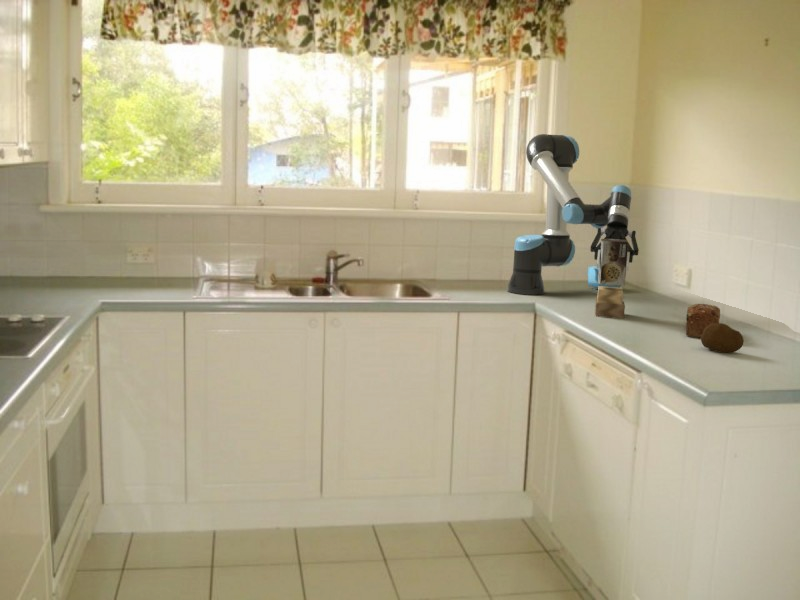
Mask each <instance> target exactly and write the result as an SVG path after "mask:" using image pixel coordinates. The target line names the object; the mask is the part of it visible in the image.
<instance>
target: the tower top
mask: <svg viewBox="0 0 800 600" xmlns="http://www.w3.org/2000/svg"><path fill="white" fill-rule="evenodd" d="M623 295H624V290H623V287H620V288H617V287H604V286H598V290H597V296H596V297H597V298H596V299H597V302H598V303H603V304H616V305H622V301H623Z"/></svg>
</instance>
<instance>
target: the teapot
mask: <svg viewBox="0 0 800 600" xmlns="http://www.w3.org/2000/svg"><path fill="white" fill-rule="evenodd" d="M598 275H599V268H596V265H593V266H588V268H587V279H588V280H587V286H589V287H593V288H592V290H593V289H598V286H604V287H617V288H622V285H603V284H599V283H598Z"/></svg>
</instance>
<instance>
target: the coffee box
mask: <svg viewBox="0 0 800 600" xmlns="http://www.w3.org/2000/svg"><path fill="white" fill-rule="evenodd" d="M600 242H601V251H600V261H599V275H598V283H599V284H603V285H621V287H622V286H623V287H624V286H625V285H626V276H627V271H626V264H627V255H628V243H629V241H628V239H627V240H618V239H604V238H600Z"/></svg>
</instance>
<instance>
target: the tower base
mask: <svg viewBox="0 0 800 600" xmlns="http://www.w3.org/2000/svg"><path fill="white" fill-rule="evenodd" d="M594 307H595V308H594V316H595V315H596V316H595V317H600V316H607V317H606V318H612V317H617V318H616V319H624V318H625V309H626V304H625V301H623V300H622V305H616V304H603V303H598V302H597V298H596V299H595V305H594Z"/></svg>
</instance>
